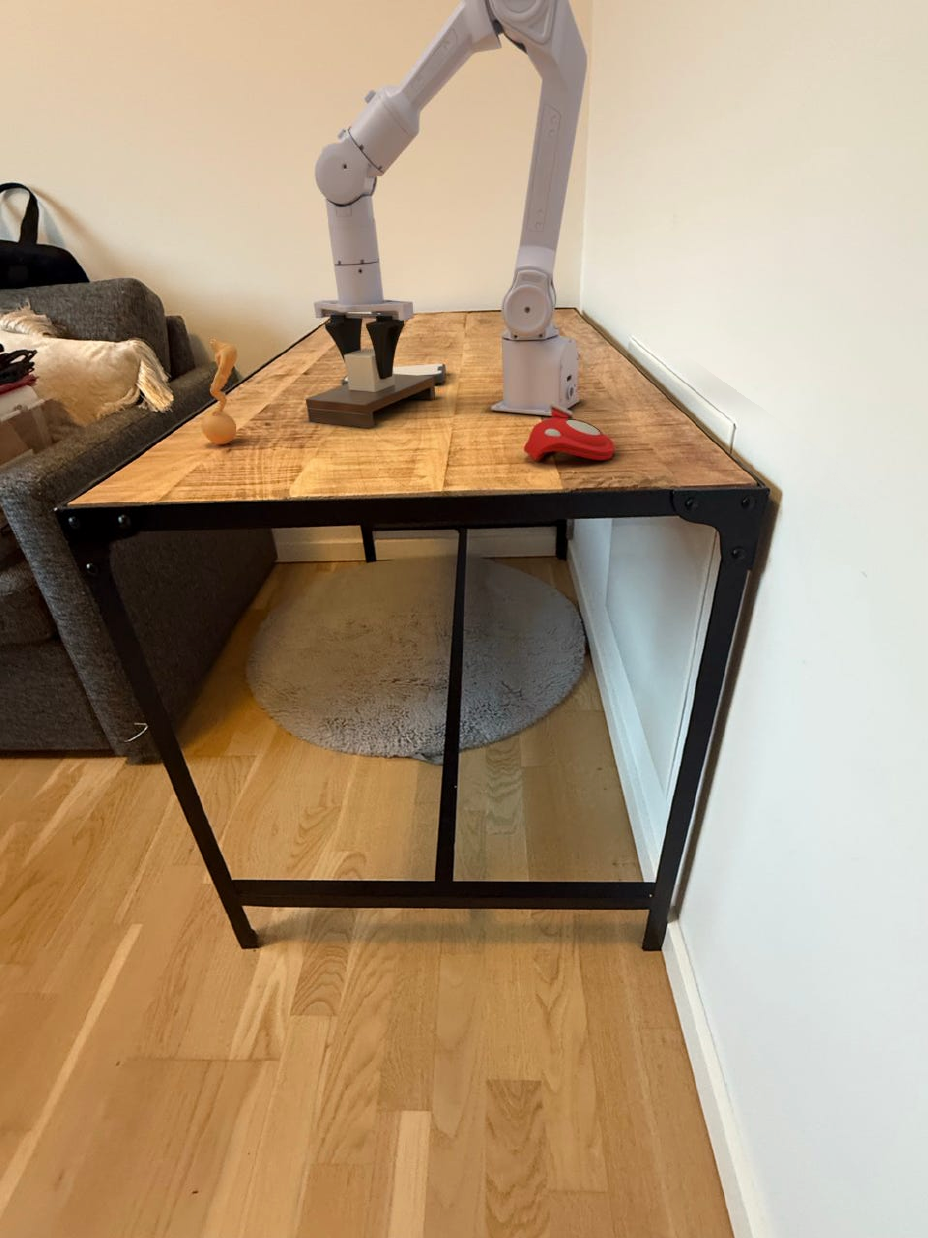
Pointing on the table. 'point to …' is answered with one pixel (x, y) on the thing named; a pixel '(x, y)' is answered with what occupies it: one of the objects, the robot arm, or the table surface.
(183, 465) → the table surface
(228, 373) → the figurine
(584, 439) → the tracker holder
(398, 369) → the phone case
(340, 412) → the shelf
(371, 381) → the block
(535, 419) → the table surface
